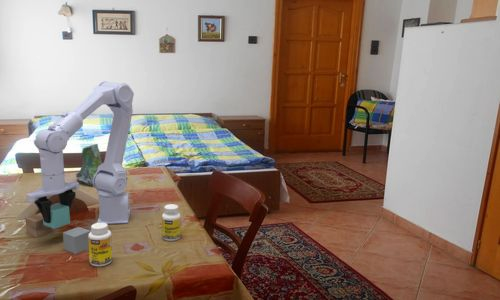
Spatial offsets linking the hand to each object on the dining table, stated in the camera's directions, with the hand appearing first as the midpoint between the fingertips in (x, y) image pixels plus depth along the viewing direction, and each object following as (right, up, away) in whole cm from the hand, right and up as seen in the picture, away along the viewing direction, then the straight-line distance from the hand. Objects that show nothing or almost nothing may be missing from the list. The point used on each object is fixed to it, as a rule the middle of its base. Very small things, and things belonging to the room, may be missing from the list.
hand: (56, 219), depth 120 cm
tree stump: (-7, +6, +57) cm, 58 cm away
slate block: (+7, -8, -3) cm, 11 cm away
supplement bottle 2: (+32, -7, +6) cm, 33 cm away
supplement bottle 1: (+16, -10, -10) cm, 22 cm away
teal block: (0, -1, 0) cm, 1 cm away
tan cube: (-8, -5, +6) cm, 11 cm away
